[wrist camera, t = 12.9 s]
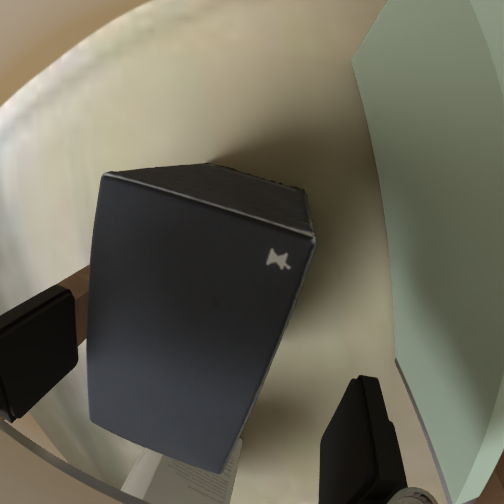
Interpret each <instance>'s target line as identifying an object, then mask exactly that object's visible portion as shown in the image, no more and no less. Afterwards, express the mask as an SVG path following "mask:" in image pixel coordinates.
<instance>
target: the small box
mask: <svg viewBox="0 0 504 504" xmlns="http://www.w3.org/2000/svg"><path fill="white" fill-rule="evenodd" d="M316 246H317V239H316V237H315V231H314V228H313V223H312V219H311V214H310V211H309V210H308V204H307V195H306V193H305V191H304V189H301V190H300V189H299V188H297V187H292V186H290V187H289V186H285V185H283V184H282V183H276V182H274V181H269V180H265V179H264V178H259V177H256V176H252V175H250V174H246V173H242V172H238V171H236V170H235V169H233V168H229V167H224V166H218V165H212V164H209V163H203V164H191V165H178V166H168V167H155V168H143V169H135V170H127V171H119V172H114V171H110V172H106V173H104V174H103V175H102V177H101V182H100V188H99V194H98V201H97V208H96V214H95V221H94V228H93V237H92V246H91V257H90V269H89V283H88V301H87V344H86V350H87V388H88V405H89V419H90V421H91V422H93V423H95V424H96V425H98V426H100V427H102V428H104V429H106V430H108V431H110V432H112V433H114V434H116V435H118V436H120V437H122V438H124V439H127V440H129V441H131V442H133V443H136V444H138V445H141V446H143V447H145V448H147V449H150V450H152V451H155V452H157V453H160V454H162V455H165V456H168V457H170V458H173V459H175V460H178V461H181V462H183V463H186V464H189V465H192V466H194V467H197V468H200V469H203V470H206V471H209V472H212V473H215V474H221V473H223V471H224V469H225V467H226V465H227V463H228V461H229V459H230V456H231V454H232V452H233V450H234V448H235V446H236V444H237V442H238V439H239V437H240V435H241V433H242V431H243V428H244V426H245V424H246V422H247V420H248V417H249V415H250V413H251V411H252V409H253V406H254V404H255V402H256V400H257V397H258V395H259V392H260V390H261V388H262V386H263V383H264V381H265V378H266V376H267V374H268V371H269V369H270V366H271V363H272V361H273V358H274V356H275V354H276V351H277V349H278V347H279V344H280V342H281V339H282V336H283V334H284V331H285V329H286V327H287V325H288V322H289V319H290V317H291V314H292V312H293V309H294V306H295V304H296V301H297V298H298V295H299V292H300V290H301V288H302V284H303V281H304V279H305V277H306V274H307V271H308V268H309V265H310V263H311V260H312V257H313V255H314V252H315V249H316Z"/></svg>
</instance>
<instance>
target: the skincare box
mask: <svg viewBox="0 0 504 504" xmlns="http://www.w3.org/2000/svg"><path fill="white" fill-rule="evenodd" d="M242 445H243V441H242V440H241V439H240V438H239V439H238V442H237V444H236V446H235V448H234V450H233V452H232V454H231V456H230V459H229V461H228V463H227V465H226V467H225V469H224V471H223V473H221V474H215V473H212V472H209V471H206V470H203V469H200V468H197V467H194V466H192V465H189V464H186V463H183V462H181V461H178V460H175V459H173V458H170V457H168V456H165V455H162V454H160V453H157V452H155V451H152V450H150V449H147V448H145V447H143V449H142V451H141V453H140V455H139V457H138V458H137V460H136V462H135V464H134V466H133V468H132V470H131V472H130V473H129V475H128V477H127V479H126V481H125V483H124V485H123V486H122V488H121V491H123V492H125V493H127V494H130V495H132V496H134V497H137V498H139V499H142V500H144V501H146V502H149V503H152V504H229V503H230V499H231V495H232V491H233V486H234V482H235V477H236V473H237V468H238V463H239V459H240V454H241V449H242Z"/></svg>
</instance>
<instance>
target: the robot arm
mask: <svg viewBox="0 0 504 504" xmlns="http://www.w3.org/2000/svg"><path fill="white" fill-rule="evenodd" d="M77 362H78V347H77V334H76V316H75V298H74V296H73V295H72V292H71V290H70V289H67V288H65V287H63V286H60V285H54V286H52V287H50V288H48V289H46V290H45V291H43V292H41V293H39V294H37V295H36V296H34V297H32V298H30V299H28V300H27V301H25V302H23V303H21V304H20V305H18V306H16V307H14V308H13V309H11V310H9V311H8V312H6V313H4V314H2V315H1V316H0V414H1V416H2V417H4V418H5V419H6V420H8V421H9V422H10V423H13V421H15V420H16V419H17V418H21V417H22V416H23V415H25V414H26V413H27V412H28V411H29V410H30V409H31V408H32V407H33V406H34V405H35V404H36V403H37V402H38V401H39V400H40V399H41V398H42V397H43V396H44V395H45V394H46V393H48V392H49V391H50V390H51V389H52V388H53V387H54V386H55V385H56V384H57V383H58V382H59V381H60V380H61V379H62V378H63V377H64V376H66V375H67V374H68V373H69V372H70V371H71V370H72V369H73V368H74V367H75V366H76V364H77ZM0 504H152V503H149V502H146V501H144V500H142V499H139V498H137V497H134V496H132V495H130V494H127V493H125V492H123V491H121V490H118V489H116V488H114V487H112V486H110V485H108V484H106V483H104V482H102V481H100V480H98V479H96V478H94V477H92V476H90V475H88V474H86V473H84V472H82V471H81V470H79V469H77V468H75V467H73V466H72V465H70V464H68V463H66V462H65V461H63V460H61V459H59V458H58V457H56V456H54V455H53V454H51V453H50V452H48V451H47V450H45V449H43V448H42V447H40V446H39V445H37V444H36V443H34V442H33V441H31V440H30V439H28V438H27V437H25V436H24V435H23V434H21V433H20V432H18V431H17V430H16V429H14V428H13V427H12V426H10V425H9V424H8V423H6V422H5V421H4V420H2V419H1V418H0ZM319 504H438V503H437V501H436V499H435V498H434V497H433V496H432V495H431V494H430V493H429V492H427V491H425V490H423V489H421V488H416V487H409V488H408V486H407V481H406V476H405V471H404V466H403V462H402V457H401V453H400V448H399V444H398V440H397V436H396V432H395V428H394V425H393V423H392V422H391V421H389V419H388V415H387V411H386V407H385V403H384V399H383V395H382V392H381V388H380V384H379V380H378V378H375V377H369V376H363V375H359V376H358V378H357V379H354V378H353V379H352V380H351V381H350V383H349V385H348V387H347V389H346V391H345V393H344V395H343V397H342V399H341V401H340V403H339V405H338V407H337V409H336V411H335V413H334V415H333V417H332V419H331V421H330V423H329V425H328V427H327V429H326V430H325V432H324V434H323V436H322V439H321V443H320V479H319Z"/></svg>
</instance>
